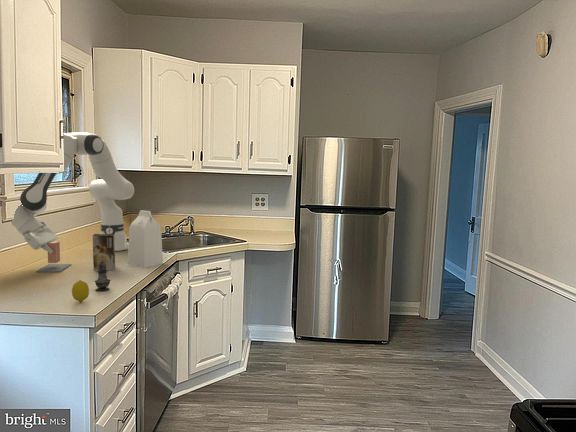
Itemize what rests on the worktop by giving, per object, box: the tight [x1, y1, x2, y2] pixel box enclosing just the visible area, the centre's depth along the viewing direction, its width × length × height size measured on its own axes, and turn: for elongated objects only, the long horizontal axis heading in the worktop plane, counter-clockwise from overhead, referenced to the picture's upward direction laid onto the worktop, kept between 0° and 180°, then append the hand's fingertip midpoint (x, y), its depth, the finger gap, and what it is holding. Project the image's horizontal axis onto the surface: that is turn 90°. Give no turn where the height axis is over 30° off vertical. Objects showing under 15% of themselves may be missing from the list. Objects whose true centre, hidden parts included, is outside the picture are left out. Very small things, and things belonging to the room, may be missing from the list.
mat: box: [35, 263, 72, 273], centre depth 209 cm, size 14×10×1 cm
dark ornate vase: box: [94, 259, 112, 293], centre depth 178 cm, size 6×6×12 cm
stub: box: [47, 240, 61, 264], centre depth 208 cm, size 4×4×9 cm
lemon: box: [71, 279, 90, 303], centre depth 162 cm, size 6×6×8 cm
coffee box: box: [92, 233, 116, 272], centre depth 211 cm, size 9×6×16 cm
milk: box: [127, 209, 164, 268], centre depth 224 cm, size 12×12×26 cm
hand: (55, 251), depth 208 cm, fingers closed on stub, 4 cm apart
